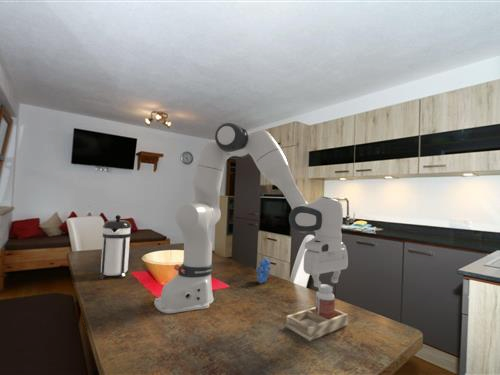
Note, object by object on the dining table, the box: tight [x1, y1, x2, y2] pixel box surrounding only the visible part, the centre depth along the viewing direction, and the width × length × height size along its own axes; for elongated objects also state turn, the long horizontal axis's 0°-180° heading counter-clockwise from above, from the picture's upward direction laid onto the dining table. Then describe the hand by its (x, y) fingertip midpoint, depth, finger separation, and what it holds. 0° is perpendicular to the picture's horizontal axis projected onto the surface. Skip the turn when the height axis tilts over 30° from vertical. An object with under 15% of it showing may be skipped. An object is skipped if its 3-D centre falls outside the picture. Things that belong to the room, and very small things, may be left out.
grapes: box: [256, 257, 272, 284], centre depth 131 cm, size 12×7×12 cm, turn 148°
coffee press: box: [98, 214, 132, 280], centre depth 133 cm, size 17×16×30 cm
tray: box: [285, 306, 349, 342], centre depth 87 cm, size 19×10×4 cm, turn 127°
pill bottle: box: [315, 283, 336, 319], centre depth 90 cm, size 6×6×11 cm
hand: (326, 284), depth 90 cm, fingers open, 8 cm apart
